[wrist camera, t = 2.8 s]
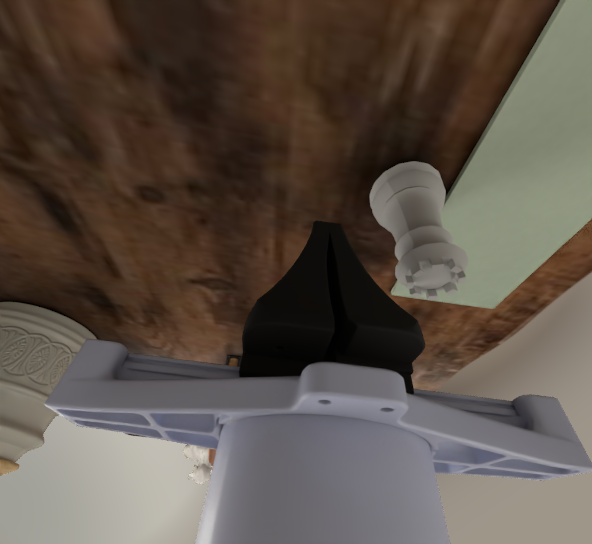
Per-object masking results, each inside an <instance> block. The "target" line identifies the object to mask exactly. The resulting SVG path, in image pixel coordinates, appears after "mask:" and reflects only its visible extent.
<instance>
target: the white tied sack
mask: <svg viewBox="0 0 592 544" xmlns="http://www.w3.org/2000/svg"><path fill="white" fill-rule="evenodd" d="M208 452H209V448H205V447H199V446H194V445H189V444H187V445H186V446H185V448H184V450H183V453H184V455H185V456H186V457H187V458H189V459H192V460H196V461H197V462H198V466H196V465H194V470H193V472H192V473H190V474H189V476H188V479H193V480H196V484H198V483H201V484H203V483H204V481H209V480H210V476H211V474H210V473H211V472H210V471H211V470H212V467H211V463H209V460H208Z"/></svg>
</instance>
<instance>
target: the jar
mask: <svg viewBox="0 0 592 544" xmlns="http://www.w3.org/2000/svg"><path fill="white" fill-rule="evenodd" d="M87 339H97V338H96V337H95V336H94V335H93V334H92V333H91V332H90V331H89V330H88V329H86V328H85V327H84V326H82V325H80V324H79V323H77V322H75V321H73V320H72V319H70V318H68V317H65V316H63V315H61V314H59V313H56V312H53V311H51V310H48V309H45V308H41V307H38V306H34V305H30V304H25V303H18V302H0V476H1V475H3V474H6V473H9V472H12V471H15V470H17V469H18V468H19V464H17V463H15V462H16V461H17V460H18V459H19V458H20V457H21V456H22V455H23V454H24V453H26V452H27V451H30V450H32V449H36V448H38V447H40V446H42V445H43V444H44V437H43V434H44V432H45V430H46V429H47V427H48V426H49V424H50V423H51V422H52V420H53V419H54V418H55V416H58V415H59V414H58V413H56V412H54V411H53V410H51V409H49V408H48V407H46V406H45V402H46V400H47V399H48V397H49V396H50V394H51V393H52V391H53V390H54V388H55V387H56V385H57V384H58V382H59V381H60V379H61V378H62V376H63V375H64V373H65V371H66V370H67V368H68V367H69V365H70V364H71V362H72V361H73V359H74V358H75V356H76V355H77V353H78V352H79V350H80V349H81V347H82V346H83V344H84V343H85V341H86V340H87Z"/></svg>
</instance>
